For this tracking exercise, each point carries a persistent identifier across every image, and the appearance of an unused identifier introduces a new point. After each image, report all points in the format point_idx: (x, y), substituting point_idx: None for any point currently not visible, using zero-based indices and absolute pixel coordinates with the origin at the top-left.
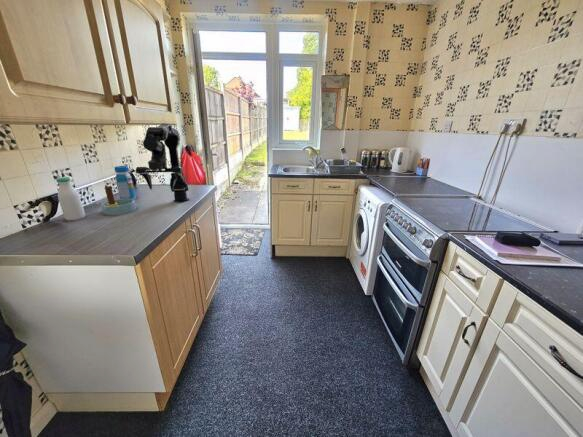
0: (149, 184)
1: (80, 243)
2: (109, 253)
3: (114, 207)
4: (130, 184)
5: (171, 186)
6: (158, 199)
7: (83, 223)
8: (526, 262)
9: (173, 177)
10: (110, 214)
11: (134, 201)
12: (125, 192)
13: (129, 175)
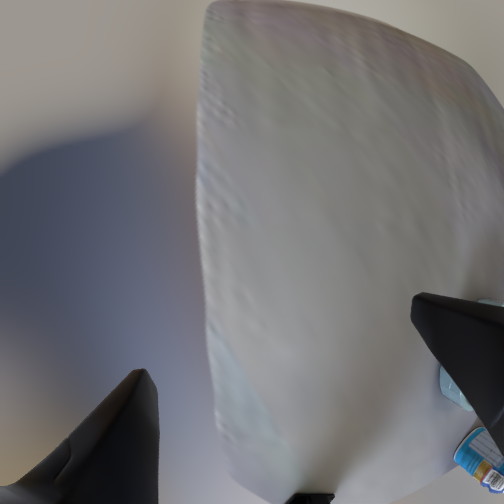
0: (465, 308)
1: (410, 70)
2: (285, 6)
3: None
4: (485, 471)
5: (135, 385)
6: (392, 483)
7: (500, 225)
8: None
9: (34, 489)
10: (484, 299)
11: (459, 393)
12: (485, 444)
13: (498, 488)
